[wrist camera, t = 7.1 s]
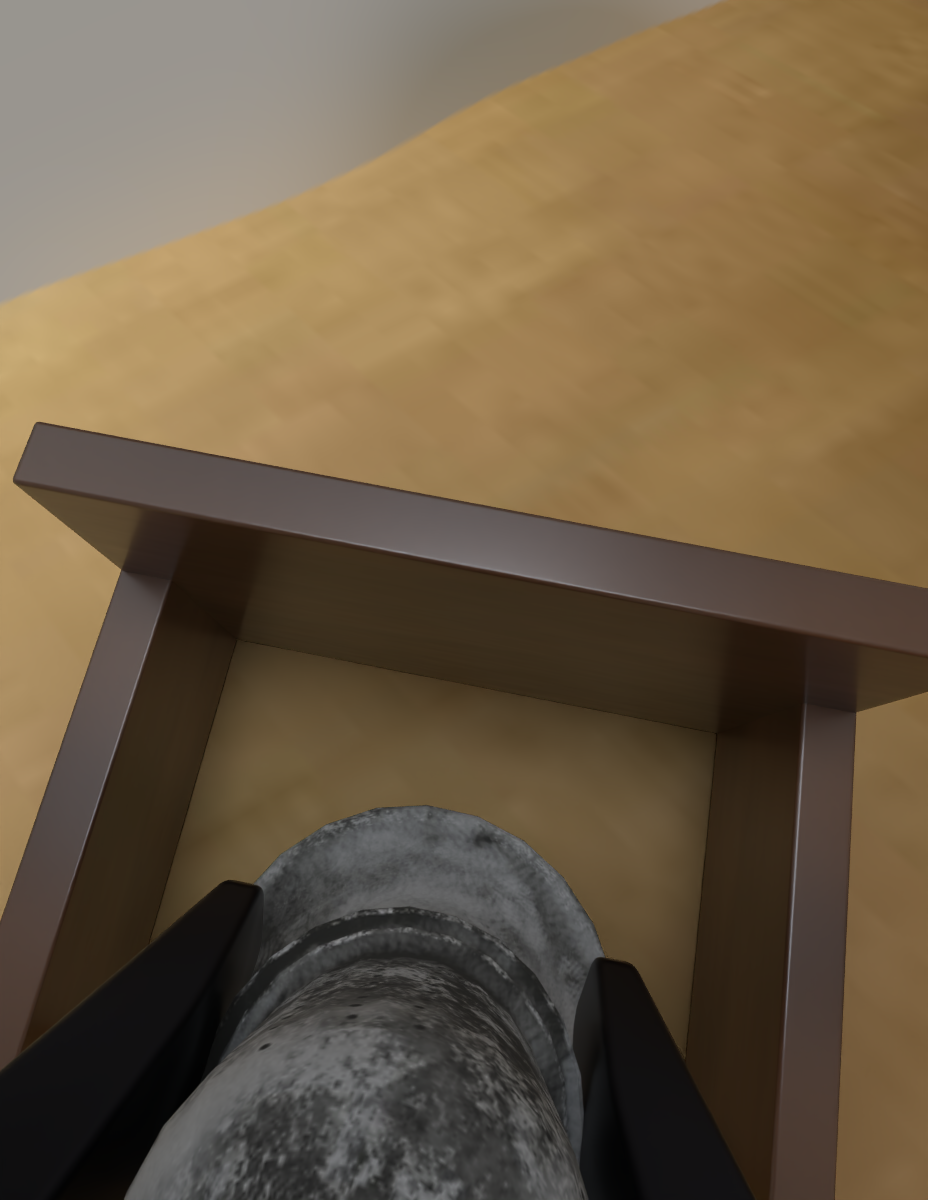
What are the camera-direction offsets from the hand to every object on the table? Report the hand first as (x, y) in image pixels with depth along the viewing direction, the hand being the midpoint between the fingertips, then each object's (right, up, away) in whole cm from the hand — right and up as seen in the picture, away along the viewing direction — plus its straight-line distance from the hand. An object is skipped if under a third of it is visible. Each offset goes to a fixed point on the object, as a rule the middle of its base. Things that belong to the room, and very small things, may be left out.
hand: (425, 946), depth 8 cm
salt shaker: (0, -3, +6) cm, 7 cm away
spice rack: (0, -3, +12) cm, 13 cm away
